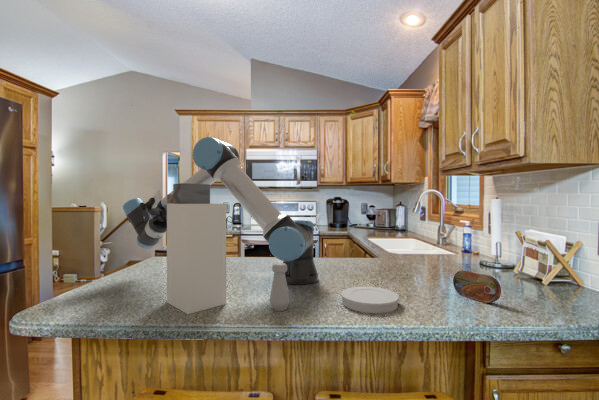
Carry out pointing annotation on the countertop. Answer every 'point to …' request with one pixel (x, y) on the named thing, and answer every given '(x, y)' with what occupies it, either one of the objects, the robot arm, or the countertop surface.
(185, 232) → the pedestal
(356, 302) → the lid
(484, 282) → the tin
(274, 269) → the salt shaker
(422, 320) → the countertop surface
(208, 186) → the panel with wooden post
